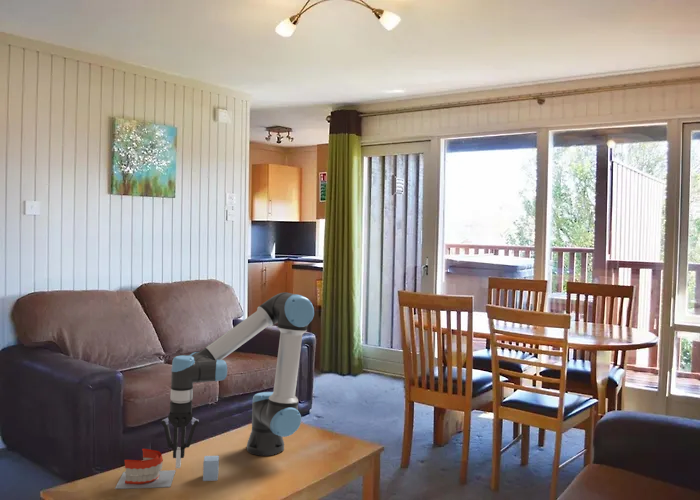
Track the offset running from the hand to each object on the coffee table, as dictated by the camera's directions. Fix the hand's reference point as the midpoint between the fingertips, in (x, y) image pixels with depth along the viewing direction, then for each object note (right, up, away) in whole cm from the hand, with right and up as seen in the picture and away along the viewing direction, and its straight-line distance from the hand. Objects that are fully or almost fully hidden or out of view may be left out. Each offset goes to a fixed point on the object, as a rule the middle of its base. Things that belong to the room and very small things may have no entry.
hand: (178, 466), depth 207 cm
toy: (-11, -4, -2) cm, 11 cm away
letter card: (-11, -4, -2) cm, 11 cm away
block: (+11, -5, +2) cm, 12 cm away
